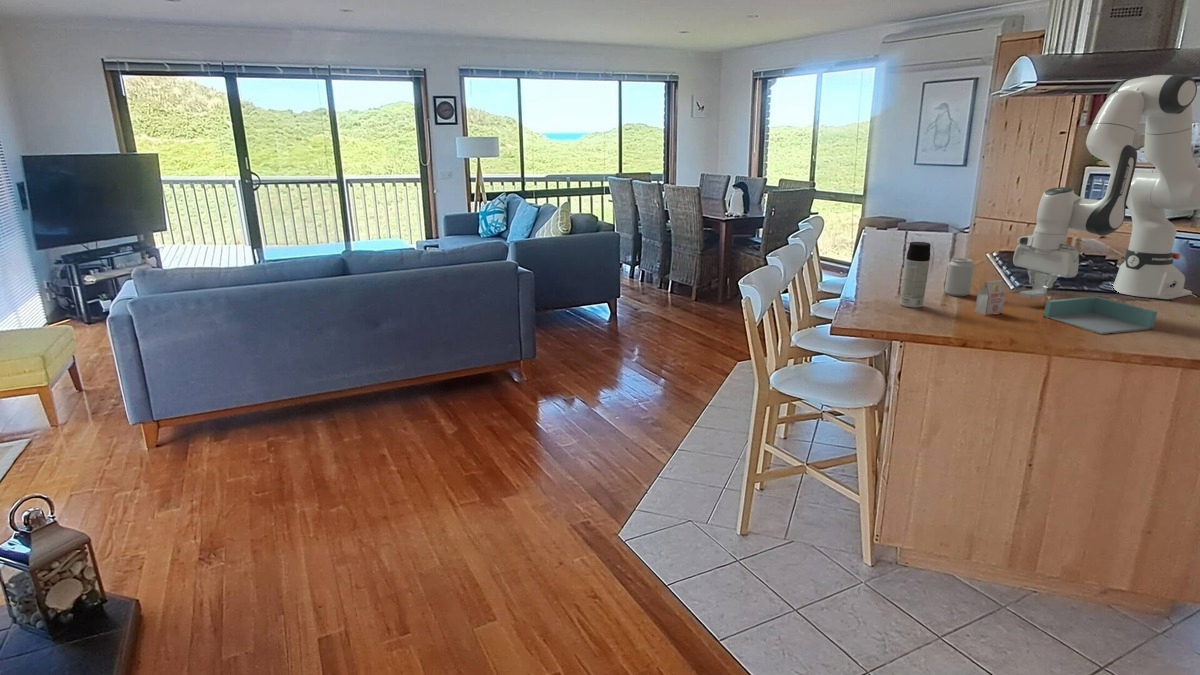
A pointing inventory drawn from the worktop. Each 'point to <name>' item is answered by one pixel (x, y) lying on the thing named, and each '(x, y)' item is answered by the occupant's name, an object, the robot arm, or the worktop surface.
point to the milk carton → (990, 298)
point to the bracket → (1037, 286)
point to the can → (959, 277)
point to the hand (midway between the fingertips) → (1040, 285)
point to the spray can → (915, 275)
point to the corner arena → (1100, 315)
